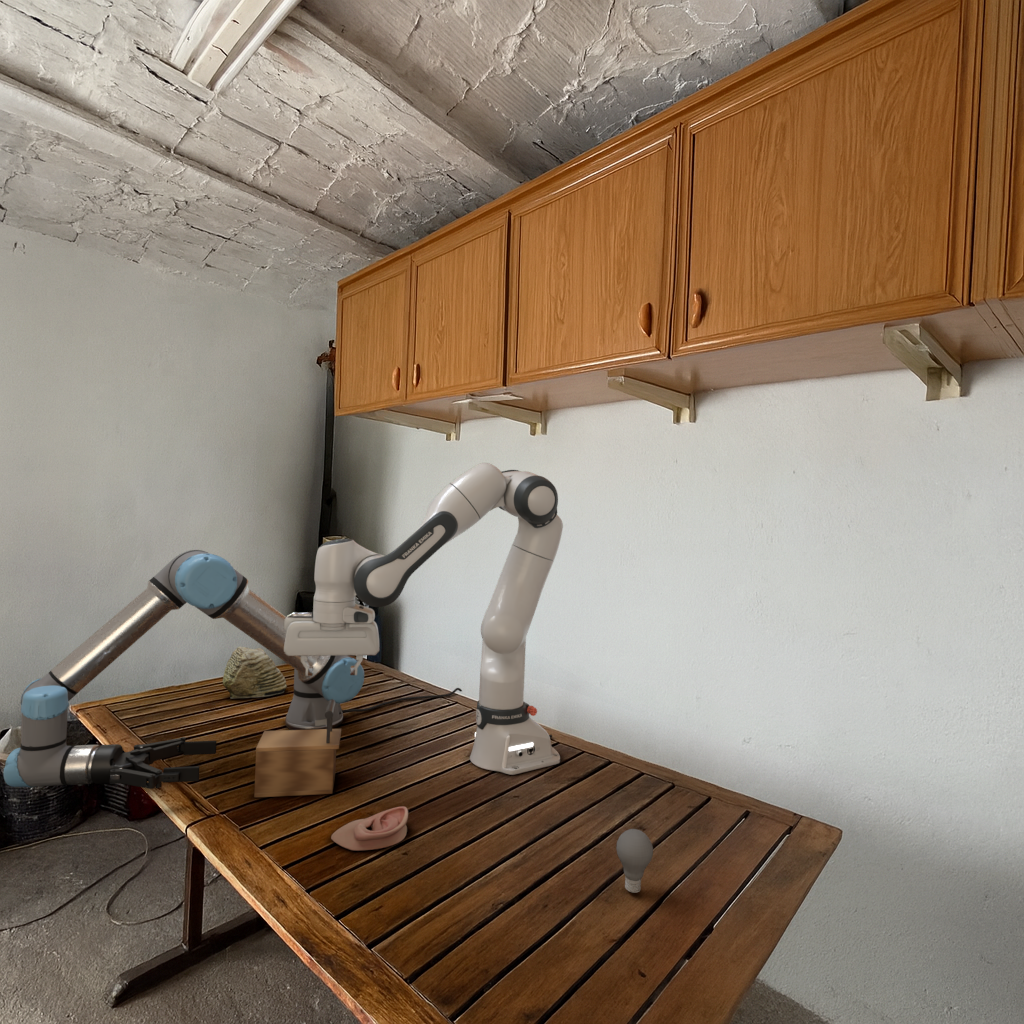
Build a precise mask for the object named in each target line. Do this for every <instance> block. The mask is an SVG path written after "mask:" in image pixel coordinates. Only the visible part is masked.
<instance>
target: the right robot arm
mask: <svg viewBox="0 0 1024 1024" xmlns="http://www.w3.org/2000/svg"><path fill="white" fill-rule="evenodd" d="M558 504H559V495H558V490H557V489H556V486H555V484H553V482H551V481H550V480H549V479H548V478H546V477H544V476H542V475H539V474H536V473H535V472H534V473H533V472H531V471H526V470H525V471H523V470H518V469H507V470H503V471H502V470H500V469H499V468H498V467H497V466H495V465H493V464H492V463H489V462H481V463H478V464H475V465H474V466H473V467H471V468H469V469H467V470H466V471H464V472H463V473H461V474H460V475H458V476H457V477H455V478H454V479H453V480H452V481H450V482H449V483H448V484H447V485H445V486H444V487H443V488H442V489H441V490H440V491H439V492H438V493H437V494H436V495H435V496H434V498H433V499H432V500H431V501H430V503H429V504H428V506H427V510H426V513H425V517H424V519H423V521H422V522H421V524H420V525H419V526H418V528H417V529H415V530H414V532H412V533H411V534H410V535H409V536H408V537H407V538H406V539H404V540H403V541H402V542H401V543H400V544H399V545H397V546H396V547H395V548H394V549H393V550H392V551H391V552H389V553H387V554H385V555H384V554H381V553H379V552H378V553H377V552H375V551H373V550H370V549H367V548H366V547H364V546H362V545H361V544H359V543H357V542H356V541H355V540H354V539H353V538H337V539H332V540H327V541H324V542H323V543H322V544H321V545H320V546H319V547H318V548H317V552H316V556H315V563H314V575H313V576H314V577H313V578H314V579H313V580H314V584H315V592H314V594H313V595H314V596H313V606H312V608H313V609H312V611H309V612H308V611H307V612H297V611H293V612H291V613H290V614H288V615H285V616H286V618H285V619H284V630H285V631H286V632H287V633H286V637H285V643H284V652H285V654H286V655H287V656H301V662H302V664H303V666H304V667H305V668H306V676H313V666H309V664H308V662H307V660H308V656H339V655H348V656H356V657H355V659H356V660H357V662H356V664H355V666H351V669H350V671H351V672H350V675H357V668H358V667H359V665H360V664H362V662H363V660H364V656H377V654H378V653H379V652H380V634H379V627H378V624H377V622H376V621H375V618H376V613H375V610H374V609H373V608H384V607H387V606H390V605H391V604H393V603H394V602H395V601H397V600H398V598H399V597H400V596H401V594H402V592H403V590H404V588H405V586H406V584H407V582H408V580H409V578H410V577H411V576H412V575H413V574H414V573H415V572H416V571H417V570H418V569H419V568H420V567H421V566H423V565H424V564H425V562H427V561H428V560H429V559H430V558H431V557H432V556H433V555H435V553H436V552H437V551H439V550H440V549H442V547H443V546H444V545H446V544H448V543H449V542H451V541H452V540H454V539H456V538H457V537H459V536H460V535H463V533H465V532H466V531H468V530H470V528H472V527H473V526H475V525H476V524H477V523H478V522H479V521H480V520H482V519H483V518H484V517H485V516H487V514H488V513H489V512H491V511H493V510H494V509H497V508H499V509H500V510H502V511H505V512H506V513H508V514H510V515H511V516H514V517H516V518H517V520H518V525H517V526H518V528H517V533H516V534H515V537H514V539H513V542H512V544H511V546H510V549H509V551H508V554H507V557H506V558H505V561H504V564H503V566H502V570H501V572H500V574H499V577H498V580H497V582H496V585H495V588H494V590H493V593H492V595H491V597H490V600H489V602H488V603H489V604H488V606H487V608H486V610H485V612H484V615H483V618H482V621H481V625H480V636H481V639H482V641H481V642H482V643H481V655H480V656H481V657H480V658H481V659H480V667H479V669H480V670H479V691H478V692H479V693H478V701H477V702H476V710H475V723H476V730H475V732H474V742H473V746H472V750H471V753H470V755H469V760H470V762H471V763H472V764H473V765H475V766H476V767H478V768H480V769H484V770H487V771H488V770H489V771H494V772H500V773H502V774H506V775H511V776H514V775H519V774H522V773H527V772H530V771H534V770H539V769H543V768H546V767H551V766H554V765H559V764H560V763H561V756H560V754H559V752H558V751H557V749H556V748H554V747H553V746H552V741H551V739H552V738H553V735H552V734H549V733H548V731H547V729H545V728H544V727H543V726H542V725H540V724H539V723H538V722H537V721H536V720H535V719H533V718H532V717H531V716H533V717H535V716H537V714H538V709H537V708H536V707H535V706H534V705H530V704H529V703H527V702H526V701H524V698H525V697H524V695H525V678H526V677H525V674H526V673H525V671H526V645H527V644H526V643H527V635H528V632H529V630H530V627H531V624H532V621H533V620H534V619H533V618H534V616H535V613H536V610H537V607H538V604H539V601H540V598H541V595H542V592H543V589H544V587H545V585H546V582H547V580H548V577H549V575H550V571H551V569H552V566H553V564H554V561H555V559H556V556H557V554H558V550H559V547H560V543H561V539H562V535H563V528H564V523H563V520H562V519H561V516H559V515H558V506H559V505H558ZM356 596H357V598H358V600H360V601H361V602H362V603H364V605H366V606H364V605H362V604H358V603H356ZM367 606H369V607H367ZM371 607H373V608H371Z"/></svg>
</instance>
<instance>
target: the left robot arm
mask: <svg viewBox="0 0 1024 1024" xmlns="http://www.w3.org/2000/svg"><path fill="white" fill-rule="evenodd" d="M186 604H189V605H190V606H193V607H195V608H196V609H198V610H199V611H200V612H202V613H203V614H205V615H206V616H208V617H209V618H211V620H216V619H224V621H225V620H226V622H228V623H230V624H231V625H232V626H234V627H236V628H237V629H238V630H239V631H241V632H242V633H243V634H244V635H246V636H248V637H249V638H251V639H252V640H254V641H255V642H256V643H258V644H259V645H261V646H262V647H264V648H265V649H266V650H267V651H269V652H271V653H272V654H273V655H275V656H276V657H278V658H279V659H280V660H282V661H283V662H285V663H286V664H287V665H289V666H290V667H292V668H293V669H294V672H293V695H292V696H293V697H292V699H291V702H290V704H289V708H288V711H287V713H286V715H285V726H286V728H287V729H288V730H314V729H327V718H326V717H325V712H326V708H327V704H328V701H329V700H331V699H333V700H335V702H336V704H335V709H334V714H333V721H332V729H336V728H337V727H339V726H340V725H342V723H343V722H344V714H343V713H356V712H357V713H358V712H359V713H360V712H368V711H371V710H372V711H373V710H374V709H377V708H380V707H382V706H386V705H390V704H393V703H397V702H403V701H409V700H422V699H434V698H437V699H438V698H445V697H450V696H452V695H454V694H455V693H456V692H458V691H459V692H460V693H461V692H463V690H462V689H461V688H460V687H456V688H454V690H452V691H451V692H449V693H445V694H444V693H443V694H435V695H421V696H420V695H419V696H408V697H401V698H396V699H392V700H389V701H385V702H381V703H378V704H377V705H373V706H369V707H366V708H352V709H350V708H349V709H342V706H341V704H344V703H347V702H350V701H351V700H353V699H354V698H356V696H357V695H358V694H359V693H360V691H361V689H362V688H363V686H364V682H365V670H364V667H363V666H362V663H360V665H359V667H358V668H357V675H350V672H351V671H350V669H351V666H355V664H356V662H357V661H358V660H356V658H354V657H351V656H350V655H339V656H308V660H307V662H308V664H309V666H313V676H306V668H305V667H304V666H303V664H302V662H301V656H287V655H286V654H285V652H284V643H285V637H286V633H287V632H286V631H285V630H284V619H285V618H286V616H287V615H285V614H283V613H282V612H280V611H279V610H278V609H277V608H275V607H274V606H272V604H270V603H268V602H267V601H266V600H265V599H264V598H262V597H261V596H259V595H258V594H257V593H255V592H254V591H253V590H252V589H250V588H249V579H248V578H247V577H245V576H244V575H243V574H241V573H240V572H239V571H237V569H235V568H234V566H233V565H232V564H231V563H230V562H229V561H228V560H227V559H225V558H224V557H222V556H219V555H217V554H213V553H209V552H208V551H205V550H202V549H191V550H186V551H184V552H181V553H179V554H178V555H176V556H175V557H173V558H172V559H171V560H170V561H169V562H168V563H166V565H164V566H163V567H162V568H161V569H160V570H159V571H158V572H156V574H155V575H154V576H152V577H151V578H150V579H149V580H148V581H147V586H146V588H145V589H144V590H143V591H142V592H140V593H139V594H138V595H137V596H136V597H135V598H134V599H133V600H131V601H130V602H128V604H127V605H125V606H124V607H123V608H122V609H121V610H120V611H118V612H117V613H116V614H115V615H114V616H113V617H111V618H110V619H109V620H108V621H107V622H106V623H104V624H103V625H102V626H101V627H100V628H98V629H97V630H96V631H95V632H94V633H93V634H92V635H90V636H89V637H88V638H87V639H85V641H83V642H82V643H81V644H80V645H79V646H78V647H76V648H75V649H74V650H73V651H72V652H70V653H69V654H68V655H67V656H66V657H64V658H63V659H62V660H61V661H60V662H59V663H57V664H56V665H55V666H54V667H53V668H52V669H51V670H50V671H49V672H47V673H46V674H44V676H42V677H40V678H37V679H34V680H33V681H31V682H30V683H28V685H26V687H24V690H23V692H22V693H21V696H20V713H21V719H20V720H21V721H20V725H21V728H20V729H21V733H20V734H21V735H20V736H21V737H20V739H21V741H20V747H16V748H15V749H13V750H12V751H10V753H9V754H8V756H7V758H6V760H5V766H4V768H3V773H2V774H3V779H4V783H6V785H7V786H9V787H11V788H12V787H13V788H31V789H32V788H40V787H54V786H55V787H56V786H75V785H76V786H77V787H82V786H83V785H91V784H95V785H102V784H121V785H127V786H133V787H138V788H142V789H148V790H153V789H161V788H162V785H163V784H164V783H185V782H199V780H200V765H196V766H194V765H193V766H173V767H172V766H171V767H163V769H160V768H157V767H154V766H152V765H153V764H154V762H156V761H160V760H163V759H167V758H170V757H174V756H179V755H181V754H183V756H193V755H194V756H197V755H216V753H217V740H193V741H192V740H191V741H186V737H185V736H181V737H179V738H173V739H172V738H171V739H167V740H162V741H157V742H155V741H154V742H150V743H143V744H135V745H133V750H130V751H125V750H124V747H123V746H122V745H121V744H119V743H114V744H113V743H112V744H101V745H99V744H82V745H81V744H80V745H79V744H78V745H67V741H68V736H67V734H68V733H67V732H68V731H67V730H68V729H67V728H68V715H69V713H68V711H69V710H68V709H69V706H70V705H69V704H70V703H69V702H70V701H71V700H72V699H73V698H75V696H76V695H78V693H80V691H82V690H83V689H84V688H86V686H88V684H90V683H91V682H93V680H94V679H96V677H98V676H99V675H100V674H101V673H102V672H103V671H104V670H106V669H107V668H108V667H109V666H110V665H111V664H112V663H114V661H116V660H117V659H119V657H120V656H121V655H123V654H124V653H125V652H126V651H127V650H128V649H129V648H131V647H132V646H133V645H134V644H135V643H136V642H137V641H138V640H139V639H141V638H142V637H143V636H144V635H145V634H146V633H148V632H149V631H150V630H151V629H152V628H153V627H154V626H155V625H156V624H157V623H159V622H160V621H161V620H162V619H163V618H165V616H167V615H168V614H169V613H170V612H171V611H177V610H180V609H181V608H183V606H184V605H186ZM162 783H163V784H162Z"/></svg>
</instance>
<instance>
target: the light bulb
mask: <svg viewBox="0 0 1024 1024" xmlns="http://www.w3.org/2000/svg"><path fill="white" fill-rule="evenodd" d="M615 849H616V854H617V857H618V859H619V861H620V863H621V865H622V867H623V873H624V874H623V875H624V876H625V878H624V888H625V890H627V891H628V892H630V893H634V894H635V893H639V892H640V891H641V889H642V887H641V886H642V879H643V877H644V875H645V871H646V868H647V867H648V866H649V864H650V863H651V861H652V859H653V855H654V847H653V843H652V841H651V838H649V836H648V835H647V834H646V833H645V832H643V831H642V830H641V829H636V828H629V829H627V830H625V831H623V832H622V833H621V834H620V835H619V837H618V839H617V841H616V847H615Z"/></svg>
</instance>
